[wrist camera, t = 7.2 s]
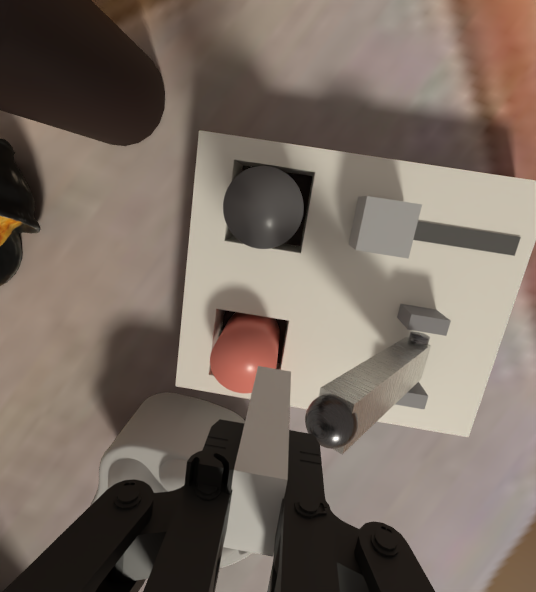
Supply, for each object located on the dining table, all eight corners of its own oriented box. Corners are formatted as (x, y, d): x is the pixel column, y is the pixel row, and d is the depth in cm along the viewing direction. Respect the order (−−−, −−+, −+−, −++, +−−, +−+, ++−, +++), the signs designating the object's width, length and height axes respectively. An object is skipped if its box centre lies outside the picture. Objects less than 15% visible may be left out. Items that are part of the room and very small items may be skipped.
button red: (222, 354, 30) (206, 387, 25) (228, 303, 29) (213, 326, 23) (275, 363, 30) (271, 398, 24) (284, 312, 29) (281, 337, 23)
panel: (190, 363, 31) (164, 403, 25) (213, 140, 27) (188, 122, 20) (446, 407, 31) (485, 459, 24) (516, 186, 26) (585, 181, 20)
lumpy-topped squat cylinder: (147, 381, 32) (95, 444, 24) (286, 427, 32) (283, 505, 24) (123, 473, 35) (68, 559, 27) (251, 515, 35) (238, 614, 27)
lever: (394, 370, 25) (289, 450, 16) (406, 327, 25) (302, 383, 15) (427, 383, 24) (333, 479, 14) (440, 338, 23) (350, 408, 14)
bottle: (82, 31, 26) (-582, -498, 6) (175, 58, 25) (-200, -390, 6) (70, 132, 27) (-476, -34, 8) (157, 157, 27) (-179, 51, 8)
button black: (234, 234, 26) (218, 242, 20) (242, 168, 25) (228, 160, 19) (296, 243, 26) (296, 254, 20) (307, 178, 24) (310, 172, 19)
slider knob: (348, 244, 24) (355, 250, 21) (358, 196, 23) (367, 196, 20) (394, 251, 23) (408, 258, 21) (406, 204, 23) (422, 204, 20)
